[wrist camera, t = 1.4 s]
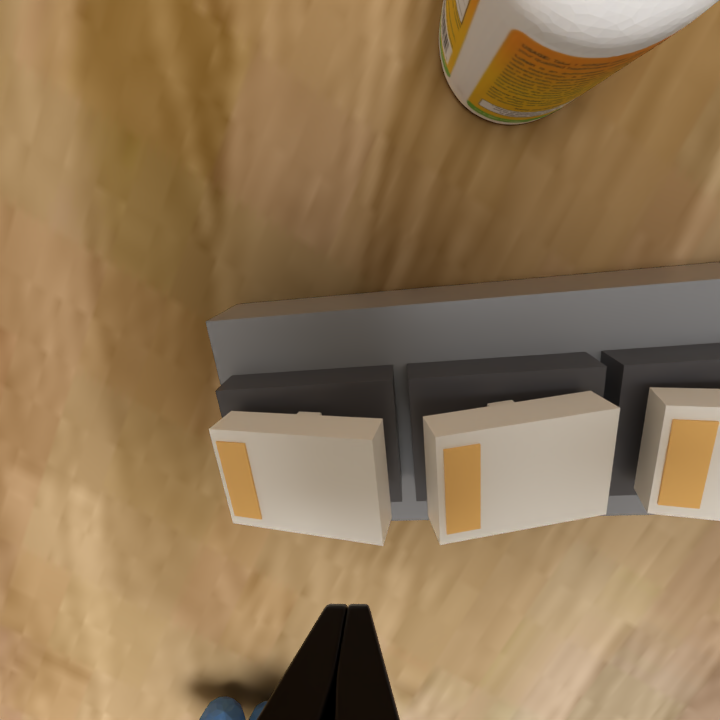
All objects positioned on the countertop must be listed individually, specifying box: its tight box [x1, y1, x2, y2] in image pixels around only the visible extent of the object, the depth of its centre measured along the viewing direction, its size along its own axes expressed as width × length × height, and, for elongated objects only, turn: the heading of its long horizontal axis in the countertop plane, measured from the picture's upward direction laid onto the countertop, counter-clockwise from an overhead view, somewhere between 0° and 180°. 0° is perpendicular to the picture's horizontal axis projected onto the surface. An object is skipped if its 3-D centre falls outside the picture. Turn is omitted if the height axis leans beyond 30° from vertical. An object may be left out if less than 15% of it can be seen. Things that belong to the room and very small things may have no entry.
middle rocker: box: [423, 391, 620, 545], centre depth 12 cm, size 5×4×2 cm
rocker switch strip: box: [206, 262, 720, 521], centre depth 15 cm, size 20×9×4 cm, turn 96°
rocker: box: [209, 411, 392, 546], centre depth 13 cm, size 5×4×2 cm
